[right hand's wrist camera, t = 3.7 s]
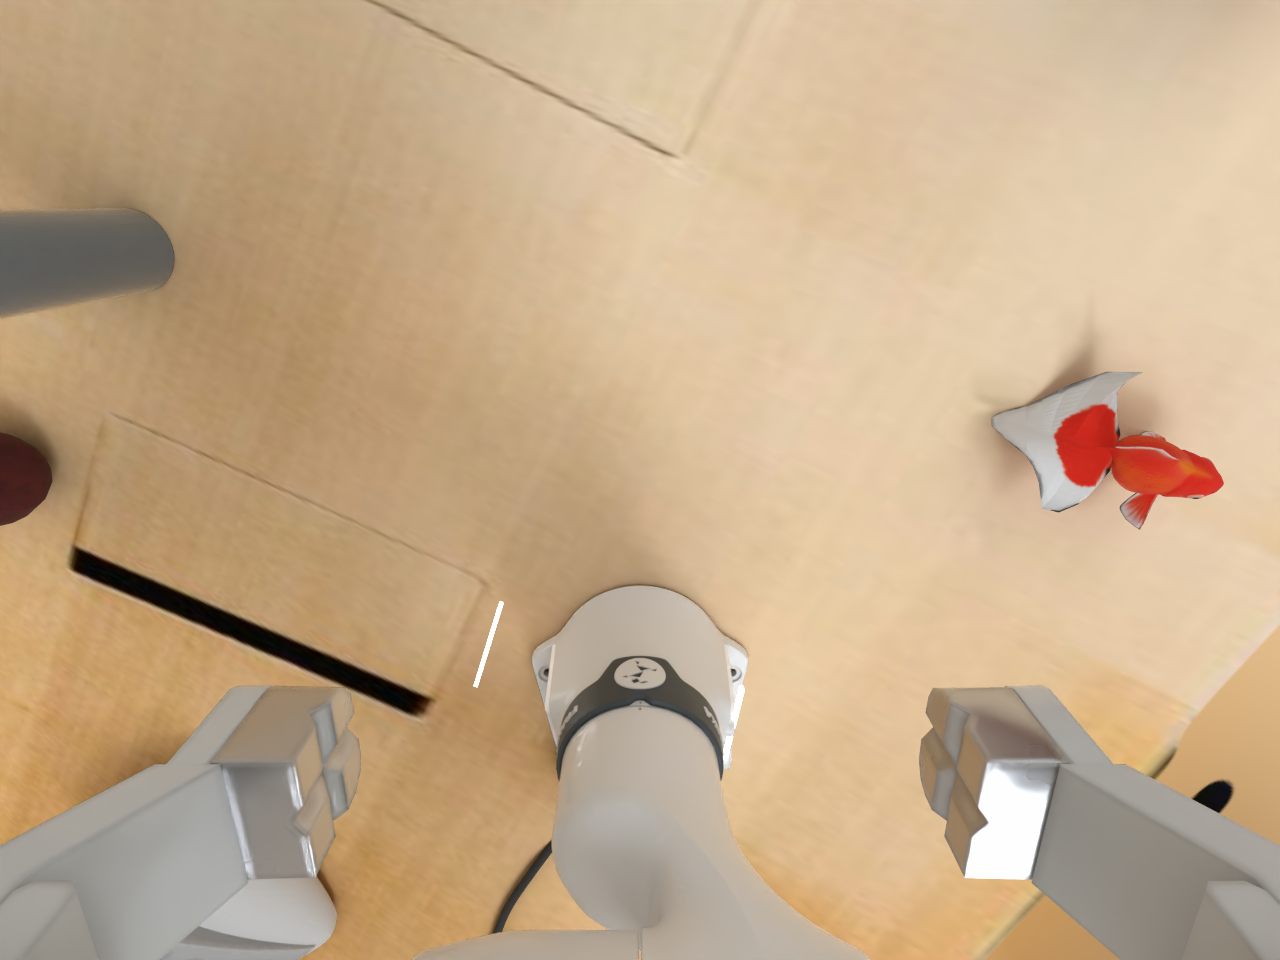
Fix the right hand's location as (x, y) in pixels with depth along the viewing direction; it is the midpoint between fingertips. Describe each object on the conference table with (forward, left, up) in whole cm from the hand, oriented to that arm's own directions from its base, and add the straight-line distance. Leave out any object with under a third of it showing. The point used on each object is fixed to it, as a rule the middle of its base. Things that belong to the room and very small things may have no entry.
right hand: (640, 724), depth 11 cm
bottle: (+4, +37, -48) cm, 60 cm away
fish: (-11, -34, -48) cm, 60 cm away
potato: (-13, +49, -48) cm, 70 cm away
